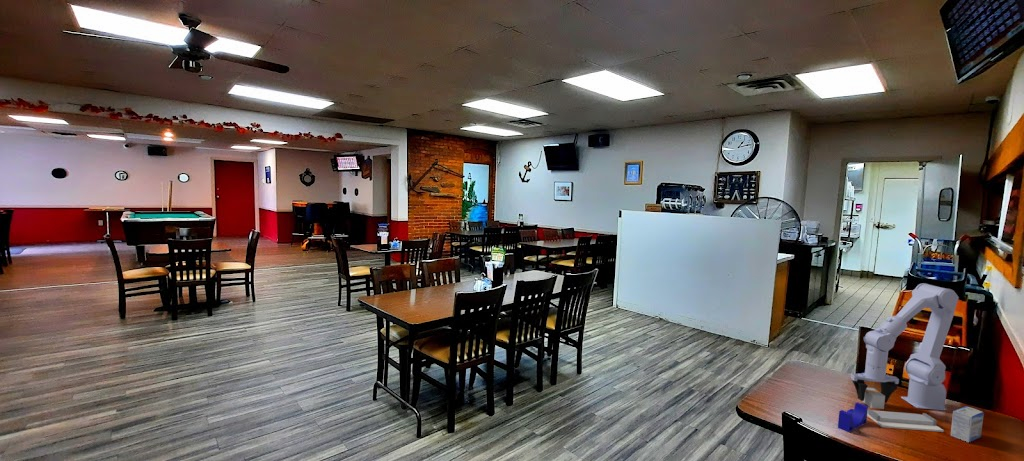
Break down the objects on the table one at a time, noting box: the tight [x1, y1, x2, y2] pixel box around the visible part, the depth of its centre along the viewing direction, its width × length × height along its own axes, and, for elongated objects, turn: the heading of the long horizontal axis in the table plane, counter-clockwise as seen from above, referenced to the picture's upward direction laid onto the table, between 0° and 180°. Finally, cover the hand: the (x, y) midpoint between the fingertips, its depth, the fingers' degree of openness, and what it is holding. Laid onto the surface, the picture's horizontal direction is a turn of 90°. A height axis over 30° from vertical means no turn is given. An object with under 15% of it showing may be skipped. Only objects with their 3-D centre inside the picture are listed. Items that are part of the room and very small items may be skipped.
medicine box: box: [950, 405, 985, 444], centre depth 135 cm, size 8×4×9 cm, turn 114°
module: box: [861, 387, 886, 410], centre depth 155 cm, size 4×6×5 cm
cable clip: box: [837, 402, 869, 433], centre depth 142 cm, size 12×4×6 cm, turn 118°
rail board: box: [867, 408, 945, 433], centre depth 144 cm, size 18×10×2 cm, turn 82°
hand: (872, 400), depth 155 cm, fingers open, 7 cm apart
